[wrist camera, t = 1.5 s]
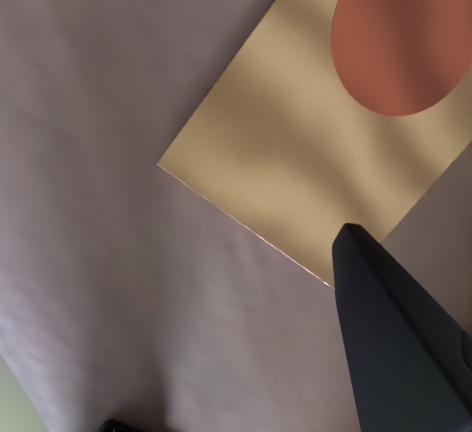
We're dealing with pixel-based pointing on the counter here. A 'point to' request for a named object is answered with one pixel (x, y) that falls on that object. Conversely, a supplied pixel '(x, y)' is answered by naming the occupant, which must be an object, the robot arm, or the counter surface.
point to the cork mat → (332, 120)
